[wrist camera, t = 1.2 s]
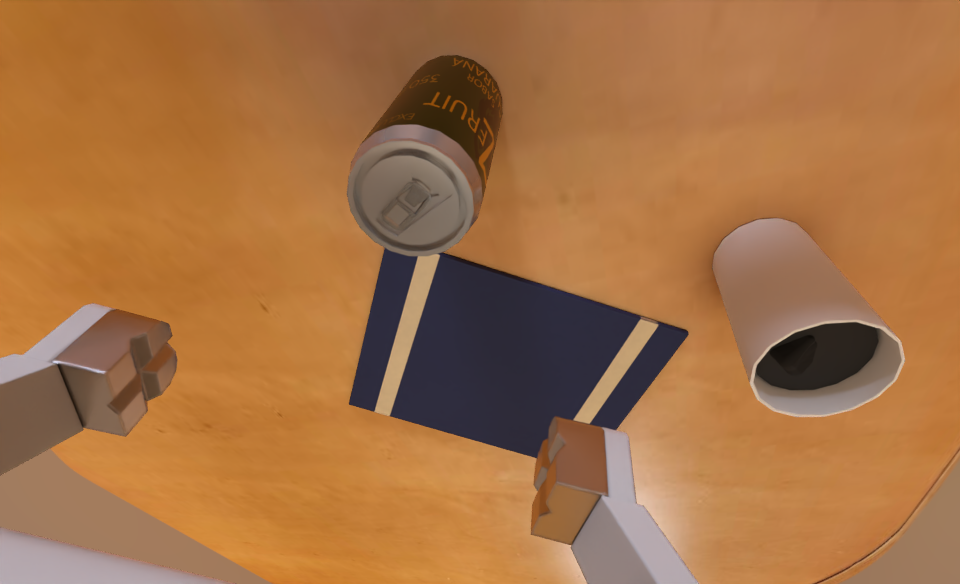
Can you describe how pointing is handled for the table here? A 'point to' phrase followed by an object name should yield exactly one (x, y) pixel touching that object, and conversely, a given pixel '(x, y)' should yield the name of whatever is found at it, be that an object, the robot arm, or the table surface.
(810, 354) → the white coffee cup
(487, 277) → the cloth
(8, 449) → the robot arm
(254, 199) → the table surface
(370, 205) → the green drink can
